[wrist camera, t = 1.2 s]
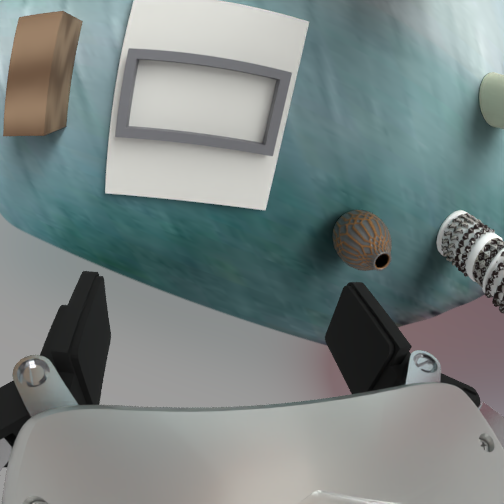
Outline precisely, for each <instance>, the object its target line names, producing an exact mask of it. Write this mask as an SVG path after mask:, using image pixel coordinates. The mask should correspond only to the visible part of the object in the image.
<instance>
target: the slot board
mask: <svg viewBox="0 0 504 504" xmlns="http://www.w3.org/2000/svg"><path fill="white" fill-rule="evenodd" d="M308 25H309V22H308V21H305V20H302V19H298V18H295V17H291V16H288V15H284V14H280V13H277V12H273V11H269V10H264V9H260V8H256V7H251V6H246V5H241V4H236V3H231V2H225V1H219V0H134V2H133V5H132V9H131V13H130V17H129V21H128V25H127V29H126V34H125V38H124V43H123V47H122V52H121V57H120V63H119V68H118V74H117V80H116V86H115V92H114V99H113V106H112V114H111V123H110V132H109V142H108V154H107V168H106V186H105V193H108V194H120V195H132V196H143V197H153V198H163V199H173V200H183V201H192V202H201V203H210V204H218V205H227V206H235V207H243V208H251V209H258V210H266V206H267V201H268V197H269V193H270V189H271V184H272V180H273V176H274V172H275V167H276V163H277V159H278V155H279V150H280V146H281V142H282V137H283V133H284V129H285V125H286V120H287V116H288V112H289V107H290V103H291V99H292V94H293V90H294V86H295V81H296V77H297V73H298V69H299V64H300V60H301V56H302V51H303V47H304V42H305V38H306V34H307V29H308Z"/></svg>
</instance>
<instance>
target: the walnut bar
mask: <svg viewBox="0 0 504 504" xmlns="http://www.w3.org/2000/svg"><path fill="white" fill-rule="evenodd" d="M82 22H83V21H81V20H79V19H77V18H75V17H73V16H71V15H70V14H68V13H66V12H64V11H59V12H50V13H43V14H36V15H30V16H24V17H19V20H18V24H17V29H16V33H15V38H14V43H13V48H12V54H11V59H10V66H9V73H8V80H7V89H6V99H5V112H4V133H3V136H44V135H47V134H49V133H52V132H54V131H57V130H59V129H62V128H64V127H66V122H67V111H68V102H69V93H70V86H71V79H72V72H73V66H74V60H75V55H76V50H77V45H78V40H79V35H80V31H81V26H82Z"/></svg>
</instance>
